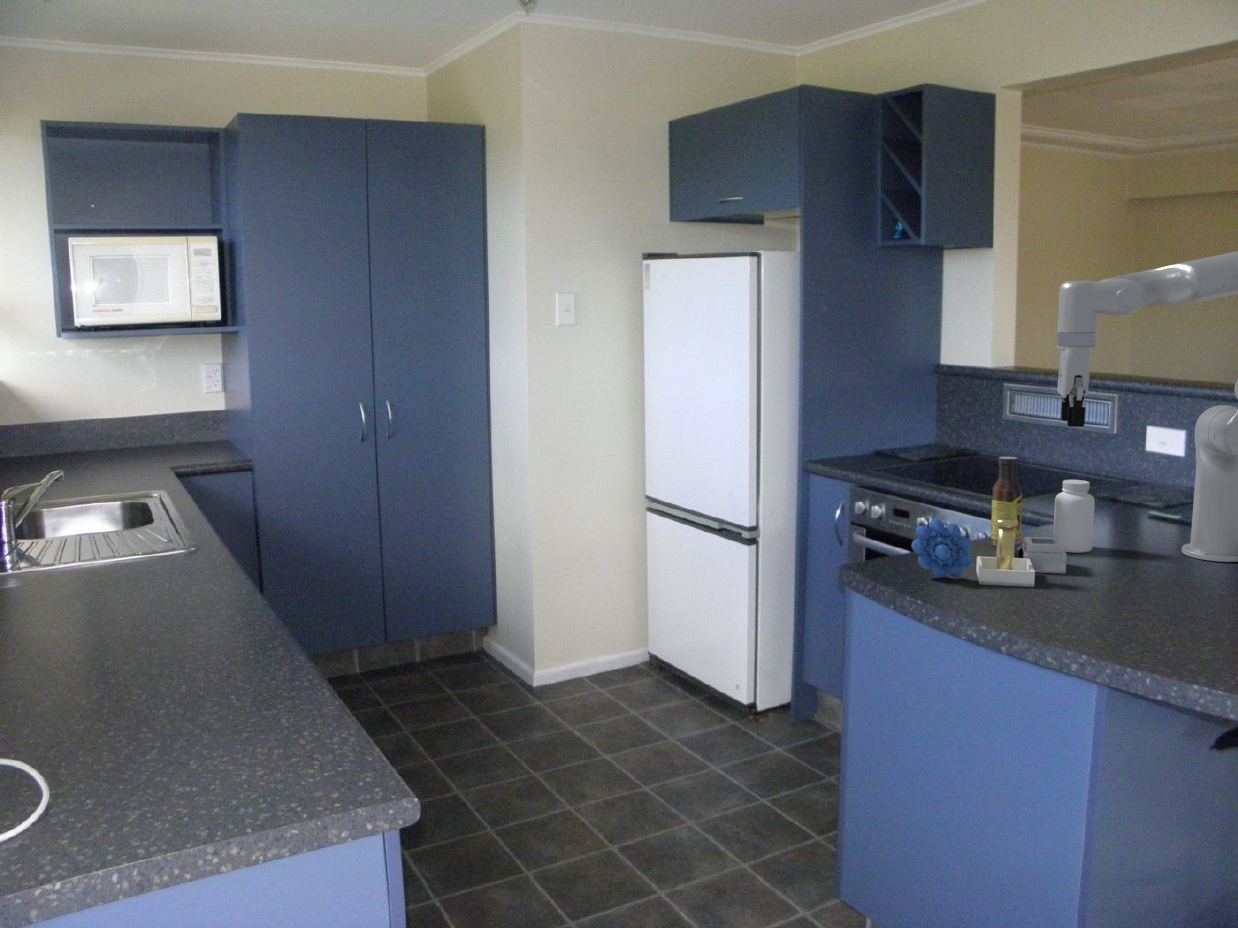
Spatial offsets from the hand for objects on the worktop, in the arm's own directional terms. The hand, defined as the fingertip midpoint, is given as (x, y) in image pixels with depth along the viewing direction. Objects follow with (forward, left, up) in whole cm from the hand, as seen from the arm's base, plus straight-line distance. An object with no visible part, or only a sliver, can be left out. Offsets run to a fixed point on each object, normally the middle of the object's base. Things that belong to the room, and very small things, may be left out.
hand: (1072, 423), depth 221 cm
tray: (+14, +22, -28) cm, 38 cm away
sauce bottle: (+12, -5, -28) cm, 31 cm away
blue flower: (+26, +25, -28) cm, 46 cm away
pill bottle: (-2, -5, -28) cm, 29 cm away
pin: (+14, +22, -28) cm, 38 cm away
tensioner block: (+8, +12, -28) cm, 32 cm away
